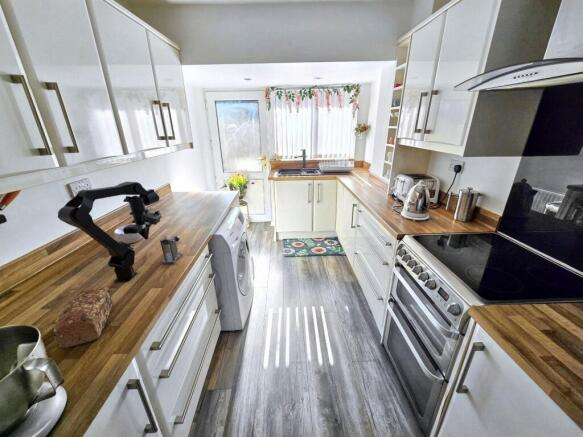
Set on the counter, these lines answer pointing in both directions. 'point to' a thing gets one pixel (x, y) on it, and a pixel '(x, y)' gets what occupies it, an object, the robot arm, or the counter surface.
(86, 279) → the counter surface
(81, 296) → the bread
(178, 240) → the ball knob lever
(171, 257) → the bracket
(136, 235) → the paper bowls
